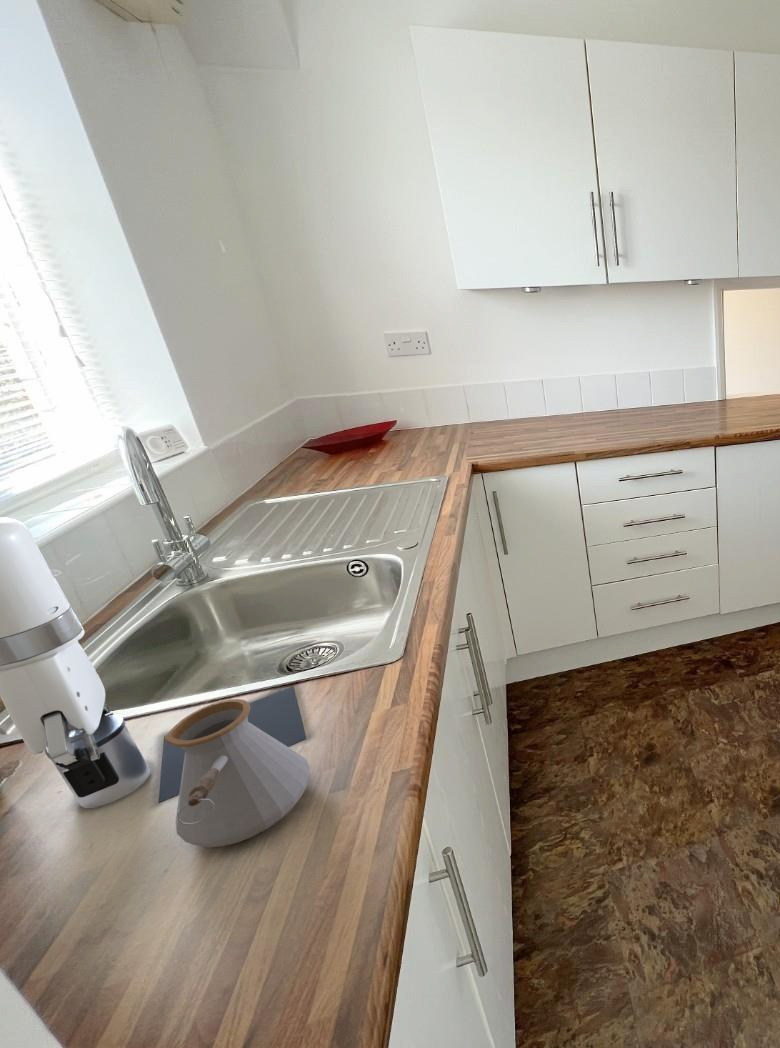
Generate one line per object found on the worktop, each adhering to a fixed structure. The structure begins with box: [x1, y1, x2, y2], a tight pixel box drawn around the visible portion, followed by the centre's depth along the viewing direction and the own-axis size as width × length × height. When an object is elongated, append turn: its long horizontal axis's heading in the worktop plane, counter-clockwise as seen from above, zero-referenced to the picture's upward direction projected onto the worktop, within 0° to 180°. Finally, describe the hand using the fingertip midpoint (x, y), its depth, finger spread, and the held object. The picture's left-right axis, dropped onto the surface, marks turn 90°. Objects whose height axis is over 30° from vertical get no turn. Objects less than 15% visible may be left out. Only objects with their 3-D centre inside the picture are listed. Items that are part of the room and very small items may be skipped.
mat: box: [158, 685, 307, 804], centre depth 74 cm, size 14×14×1 cm
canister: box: [44, 714, 151, 809], centre depth 66 cm, size 6×6×8 cm
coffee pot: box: [163, 698, 311, 848], centre depth 57 cm, size 21×12×15 cm, turn 37°
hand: (104, 766), depth 66 cm, fingers open, 7 cm apart
